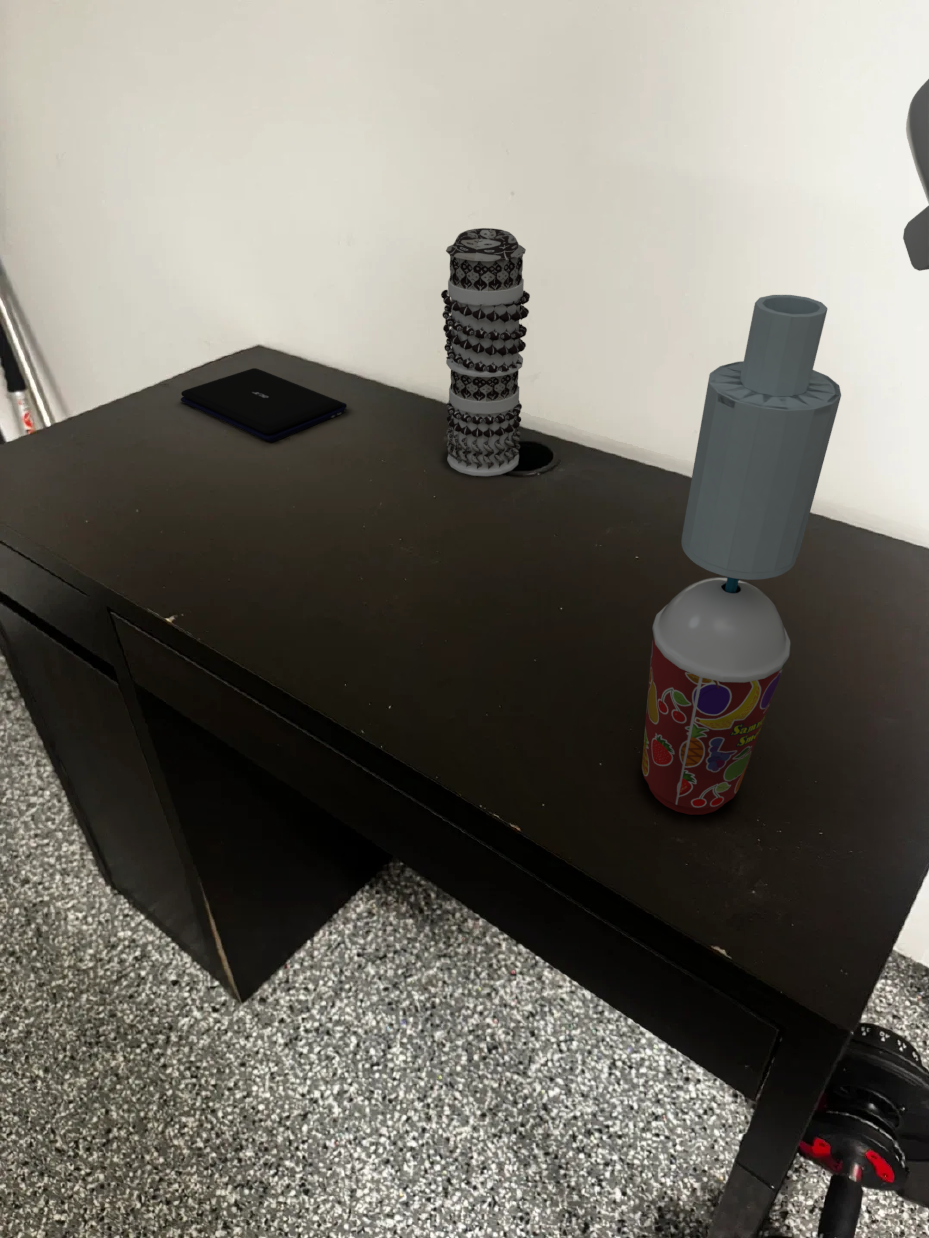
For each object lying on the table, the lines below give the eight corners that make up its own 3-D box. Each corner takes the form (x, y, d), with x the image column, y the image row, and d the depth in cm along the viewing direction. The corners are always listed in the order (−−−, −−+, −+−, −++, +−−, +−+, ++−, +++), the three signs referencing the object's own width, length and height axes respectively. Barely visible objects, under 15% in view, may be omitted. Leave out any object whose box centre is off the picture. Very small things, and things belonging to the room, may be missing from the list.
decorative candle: (511, 483, 100) (519, 249, 85) (433, 471, 102) (428, 241, 87) (531, 448, 107) (542, 227, 92) (458, 438, 109) (457, 220, 94)
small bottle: (821, 559, 51) (891, 312, 42) (737, 592, 48) (794, 336, 40) (738, 510, 55) (788, 278, 47) (657, 538, 53) (694, 297, 44)
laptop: (278, 371, 127) (277, 357, 125) (358, 416, 114) (357, 401, 113) (174, 399, 118) (171, 385, 117) (247, 451, 106) (245, 436, 105)
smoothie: (742, 845, 60) (812, 602, 48) (618, 813, 62) (656, 573, 50) (752, 759, 66) (816, 525, 54) (639, 733, 68) (677, 503, 56)
